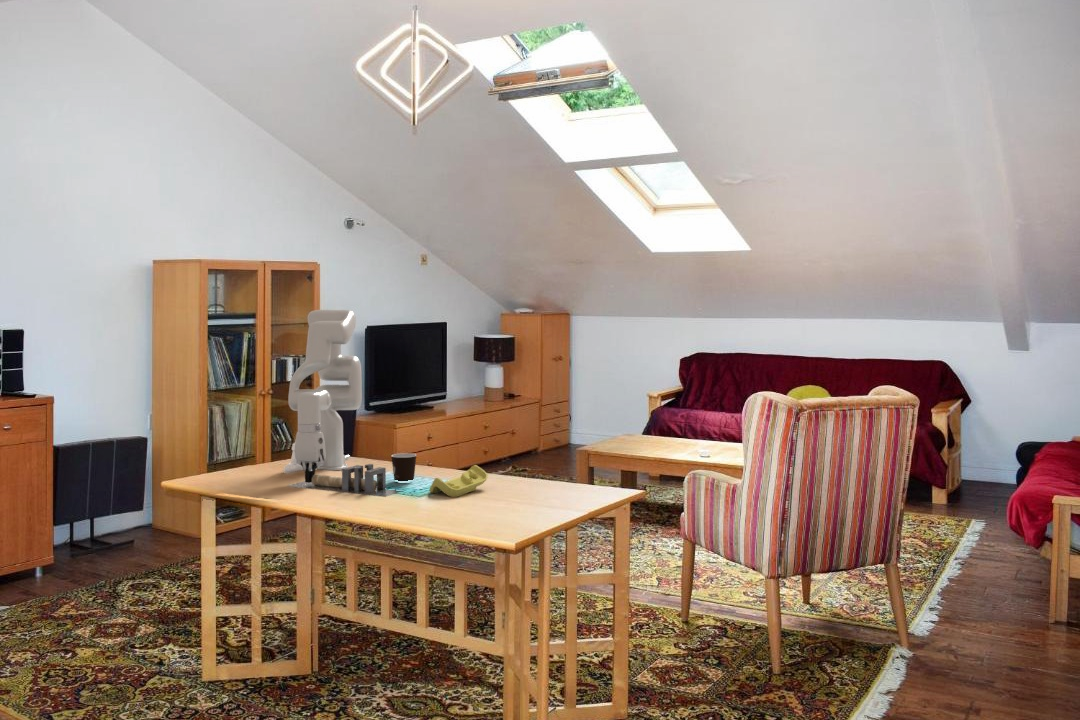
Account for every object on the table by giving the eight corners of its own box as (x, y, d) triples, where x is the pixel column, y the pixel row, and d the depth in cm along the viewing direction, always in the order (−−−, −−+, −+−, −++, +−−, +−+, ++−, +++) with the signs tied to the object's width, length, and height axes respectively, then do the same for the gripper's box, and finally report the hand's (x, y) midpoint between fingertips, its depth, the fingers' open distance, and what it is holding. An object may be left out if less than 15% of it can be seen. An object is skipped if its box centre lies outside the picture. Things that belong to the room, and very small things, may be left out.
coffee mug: (414, 486, 328) (414, 457, 328) (389, 486, 329) (389, 457, 328) (419, 480, 340) (419, 452, 339) (395, 479, 340) (395, 451, 339)
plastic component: (454, 491, 310) (433, 475, 314) (448, 510, 312) (427, 493, 317) (493, 477, 325) (472, 462, 330) (487, 495, 328) (466, 479, 333)
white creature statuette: (285, 469, 361) (284, 437, 360) (309, 468, 362) (308, 437, 362) (283, 473, 351) (282, 441, 351) (307, 473, 353) (307, 440, 352)
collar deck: (309, 482, 336) (308, 457, 335) (406, 492, 319) (405, 466, 318) (286, 488, 325) (285, 462, 324) (385, 499, 308) (385, 472, 307)
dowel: (311, 485, 325) (311, 475, 325) (318, 483, 329) (318, 473, 328) (370, 492, 315) (370, 481, 315) (377, 489, 318) (376, 479, 318)
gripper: (333, 428, 327) (334, 481, 328) (299, 425, 333) (300, 478, 334) (319, 431, 320) (320, 485, 321) (284, 428, 326) (285, 481, 328)
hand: (310, 481), depth 328 cm, fingers closed
